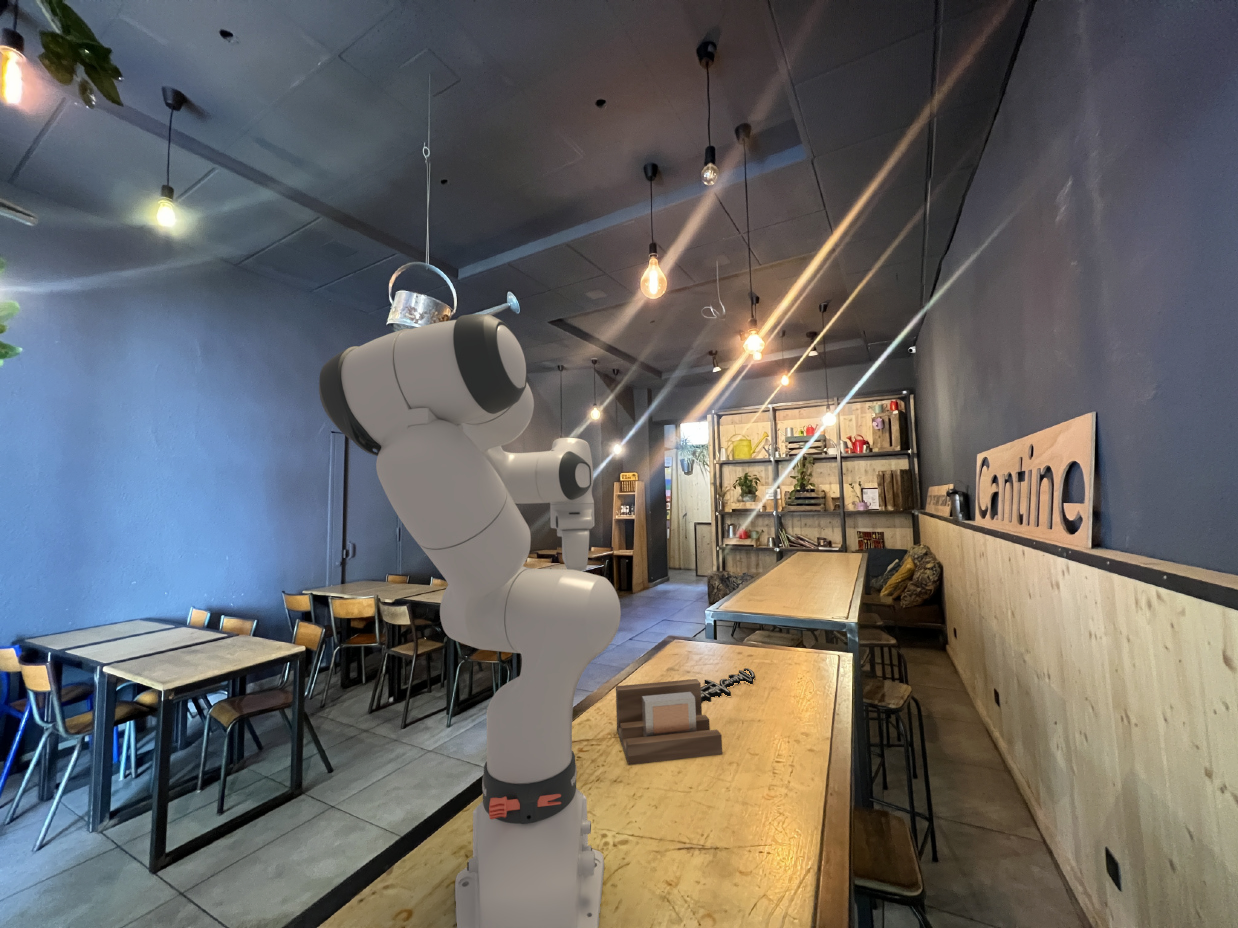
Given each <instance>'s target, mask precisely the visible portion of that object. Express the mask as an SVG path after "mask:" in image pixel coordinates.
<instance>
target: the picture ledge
mask: <svg viewBox="0 0 1238 928" xmlns="http://www.w3.org/2000/svg"><path fill="white" fill-rule="evenodd" d="M701 687H702V685H701V682H700V681H699V679H698V678H693V679H683V680H682V679H680V680H668V681H660V682H657V681H656V682H647V683H637V684H636V683H635V684H625V685H616V686H615V702H616V703H615V704H616V705H615V706H616V710H615V711H616V732H617V734H618V737H619V740H620V743H621V746H622V749H623V752H624V755H625V758H626V761H627V764H628V766H629V765H630V766H631V765H637V764H639V765H640V764H649V763H650V764H651V763H656V762H657V763H658V762H664V761H665V762H667V761H674V760H682V759H693V758H700V757H708V756H718V755H723V740H722V739H723V738H722V737H723V736H722V735H723V734H721V732H720V731H719V730H718V728H717V729H711V728H710V718H709V717H708V716H707V714H703V713H702V712H703V711H702V707H703V706H702V704H701ZM683 692H691V693H692V694H693V696H694V697H695V708H696V732H688V733H679V734H669V735H660V736H650V737H643V716H642V696H651V695H661V694H672V693H683Z"/></svg>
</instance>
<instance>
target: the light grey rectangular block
mask: <svg viewBox="0 0 1238 928" xmlns="http://www.w3.org/2000/svg"><path fill="white" fill-rule="evenodd" d="M642 716H643V737H650V736H660V735H669V734H679V733H688V732H696V708H695V697H694V696H693V694H692V693H691V692H683V693H672V694H661V695H651V696H642Z"/></svg>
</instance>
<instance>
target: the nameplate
mask: <svg viewBox="0 0 1238 928" xmlns="http://www.w3.org/2000/svg"><path fill="white" fill-rule="evenodd" d="M746 670H747V671H749V673H750V675H751V676H750V675H749V674H747V673H746V672H744V671H746ZM739 673H740V674H739ZM729 678H730V679H729ZM754 678H755V679H756V675H755V671H754V670H752V669H750V668H748V667H747V668H746V667H745V668H743V670H738V673H737V674H734V673H733V674H728V678H721V679H720V680H719V683H717V682H716V681H712V680H709V679H704V685H703V686H701V705H702V704H703V703H704V702H707V701H708V702H707V703H711V702H712V698H711V697H714V698H716V697H715V696H718V697H717V698H721V697H720V696H722V695H723V694H722V693H724V694H725V695H727V696H731V697H732V692H731V691H730V690H729V688H728V689H727V687H730V686H733V685H734V683H738V684H739V683H740V681H746V682H748V683H750V684H753V685H754V682H753V679H754ZM705 684H707V685H705ZM740 684H741V683H740ZM725 695H724V696H725ZM727 696H726V697H727Z"/></svg>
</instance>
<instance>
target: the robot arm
mask: <svg viewBox="0 0 1238 928" xmlns="http://www.w3.org/2000/svg"><path fill="white" fill-rule="evenodd" d="M527 376H528V374H527V364H526V359H525V355H524V351H523V348H522V347H521V344H520V342H519V341H518V339H517V337H516V336H515V333H514V331H512V329H511V327H510V326H509V325H508V324H507V323H505V322H504V321H503V320H501V319H499V318H497V317H496V316H493V315H491V314H486V313H485V314H484V313H478V314H477V313H475V314H474V313H473V314H464V315H460V316H459V317H458V318H457V319H453V320H447V321H446V320H445V321H440V322H435V323H430V324H425V325H420V326H416V327H414V328H403V329H399V330H397V331H394V332H391V333H388V334H386V335H385V334H384V335H383V336H380V337H377V338H375V339H372V340H371V341H368V342H366V343H364V344H362V345H360V346H359V345H355V346H354V345H353V346H350V347H348V348H346V349H344V350H342V351H340V352H339V353H337V354H336V355H334V356H332V357H331V358H330V359H328V360H327V361H326V363H324V365H323V366H322V367H321V369H320V373H319V378H318V379H319V383H318V385H319V387H318V391H319V392H318V393H319V399H320V402H321V406H322V407H323V410H324V412H325V413H326V415H327V417H328V419H330V421H331V422H332V423H333V424H334V425H335V427H336V428H337V429H338V430H339V431H340V432H341V433H342V434H343V435H344V436H346V437H347V438H348V439H350V440H351V441H352V442H353V443H354V444H355V445H356V446H357V447H359V448H360V449H361V450H362V451H363V452H365V453H367V454H369V455H372V456H376V457H377V458H376V464H375V466H376V467H375V469H376V474H377V477H378V480H379V482H380V485H381V486H382V488H383V491H384V493H385V495H386V498H387V500H388V501H389V503H390V504H391V506H392V508H393V510H394V511H395V513H396V515H397V517H398V518H399V520H400V521H401V523H402V524H403V526H404V527H405V528H406V530H407V531H408V532H409V534H410V535H411V537H412V538H413V539H414V541H415V542H416V543H417V545H419V548H421V549H422V551H423V552H424V553H425V554H426V556H427V557H428V558H429V559H430V561H431V562H432V563H433V565H434V566H435V567H436V569H437V570H438V571H439V573H440V574H441V575H442V577H443V578H444V580H446V582H447V587H446V588H445V590H444V593H443V595H442V597H441V601H440V606H439V616H440V617H439V618H440V622H441V626H442V629H443V631H444V633H445V634H446V635H447V636H448V637H449V638H450V639H452V640H453V641H456V642H458V643H461V644H464V645H467V646H470V647H472V648H475V649H478V650H482V651H483V650H484V651H493V652H503V653H504V652H505V653H514V654H515V653H516V654H520V655H521V668H520V674H519V676H517V677H515V678H513V679H511V680H510V681H508V682H507V683H504V685H502V686H500V687H499V688H498V690H497V691H496V692H495V693H494V694H493V695H492V698H491V699H490V701H489V703H488V706H487V710H486V761H485V763H484V765H483V774H482V781H481V782H482V784H481V787H482V788H481V790H482V801H481V802H480V803H479V804H478V805H476V807H475V808H474V810H473V811H472V858H468V861H467V862H466V864H467V865H466V867H465V868H463V869H462V870H461V871H459V872H458V874H457V875H456V876H455V883H454V898H455V899H454V902H455V901H456V908H455V923H456V922H457V928H598V927H599V928H600V926H599V925H600V918H599V913H600V914H601V907H600V904H601V903H602V895H603V893H602V892H603V884H604V883H603V882H604V871H605V859H604V855H603V853H602V852H600V851H599V850H597V849H595V848H592V845H590V844H589V835H590V834H591V833H592V821H591V820H588V807H587V805H588V801H587V796H586V795H584V792H583V793H582V792H581V791H580V790H579V789H578V788H577V772H578V771H577V763H576V755H575V754H576V753H574V750H573V711H574V700H575V699H574V698H575V694H576V690H577V686H578V684H579V682H580V679H581V677H582V675H583V673H584V672H585V670H586V668H588V666H589V665H590V663H591V662H593V660H594V659H596V658H597V657H598V656H599V655H600V654H602V653H603V652H604V651H605V650H606V649H607V648H608V647H609V646H610V645H611V644H612V642H613V640H614V639H615V637H616V635H617V633H618V630H619V627H620V622H621V616H622V614H621V613H622V612H621V611H622V610H621V603H620V598H619V596H618V593H617V591H616V589H615V587H614V585H613V584H612V583H611V582H610V580H608V578H607V577H604V576H601V575H597V574H595V573H594V574H593V573H590V572H586V569H587V567H588V561H589V559H588V558H589V550H590V549H589V547H590V546H589V545H590V530H592V529H593V527H595V501H594V500H595V499H594V497H593V485H594V467H593V459H592V452H591V447H590V444H589V443H588V442H587V441H586V440H584V439H583V438H579V437H574V436H573V437H572V436H564V437H559V438H556V439H555V440H553V442H552V445H551V449H550V450H546V451H534V452H531V451H530V452H509V451H505V450H504V449H503V448H502V446H506V445H508V444H510V443H511V442H513V441H515V440H516V439H518V437H520V436H521V435H522V434H523V432H524V431H525V430H526V428H527V427H528V426H529V424H530V423H531V420H532V417H533V414H534V408H535V402H534V395H533V393H532V390H531V387H530V386H529V383H528V381H527V380H528V377H527ZM548 503H549V504H550V505H549V507H550V512H549V513H550V528H551V529H556V535H557V537H561V553H562V554H561V555H562V556H561V557H562V561H563V563H564V565H565V568H566V569H563V568H559V569H558V568H532V567H526V566H524V565H525V564H526V561H527V559H528V557H529V555H530V551H531V541H532V537H531V530H530V527H529V525H528V523H527V522H526V519H525V518H524V517H523V515H522V514H521V511H520V510H519V508H518V506H519V505H523V504H548ZM601 905H602V904H601Z"/></svg>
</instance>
